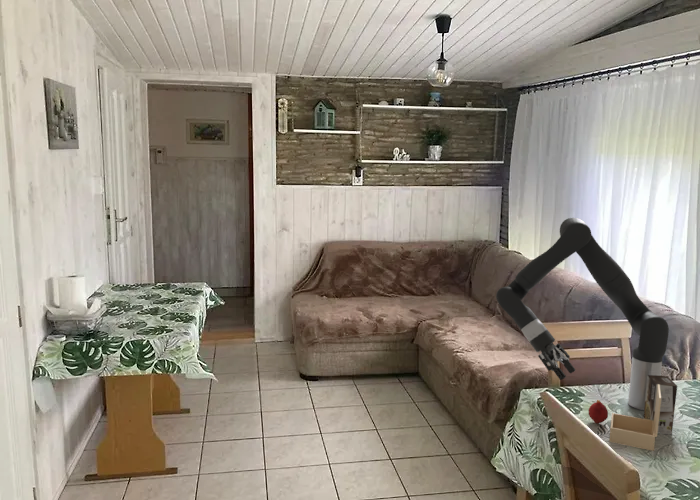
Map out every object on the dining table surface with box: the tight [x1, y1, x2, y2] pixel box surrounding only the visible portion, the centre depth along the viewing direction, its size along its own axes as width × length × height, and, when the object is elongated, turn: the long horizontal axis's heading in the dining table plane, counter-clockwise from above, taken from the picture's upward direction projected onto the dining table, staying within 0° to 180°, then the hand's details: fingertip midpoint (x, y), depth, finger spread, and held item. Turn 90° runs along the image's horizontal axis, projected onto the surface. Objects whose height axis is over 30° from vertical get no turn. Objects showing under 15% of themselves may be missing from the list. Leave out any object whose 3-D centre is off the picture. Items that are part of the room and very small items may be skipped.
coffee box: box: [642, 375, 678, 436], centre depth 185 cm, size 9×6×16 cm
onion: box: [588, 399, 609, 425], centre depth 188 cm, size 6×6×8 cm
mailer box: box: [609, 384, 661, 452], centre depth 177 cm, size 12×12×16 cm
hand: (568, 375), depth 194 cm, fingers open, 8 cm apart
